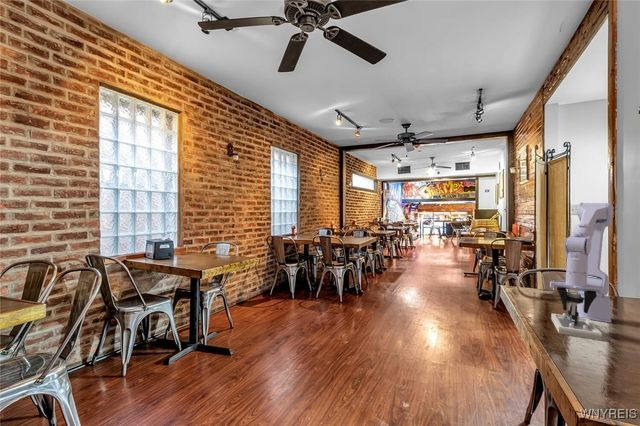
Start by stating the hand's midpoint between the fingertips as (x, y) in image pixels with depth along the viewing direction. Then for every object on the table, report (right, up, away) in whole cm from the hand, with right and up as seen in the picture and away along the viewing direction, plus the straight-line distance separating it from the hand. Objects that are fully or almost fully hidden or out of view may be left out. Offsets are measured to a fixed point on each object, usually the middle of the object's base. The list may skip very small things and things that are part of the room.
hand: (575, 311), depth 112 cm
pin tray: (0, -6, 0) cm, 6 cm away
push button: (0, -5, +1) cm, 5 cm away
